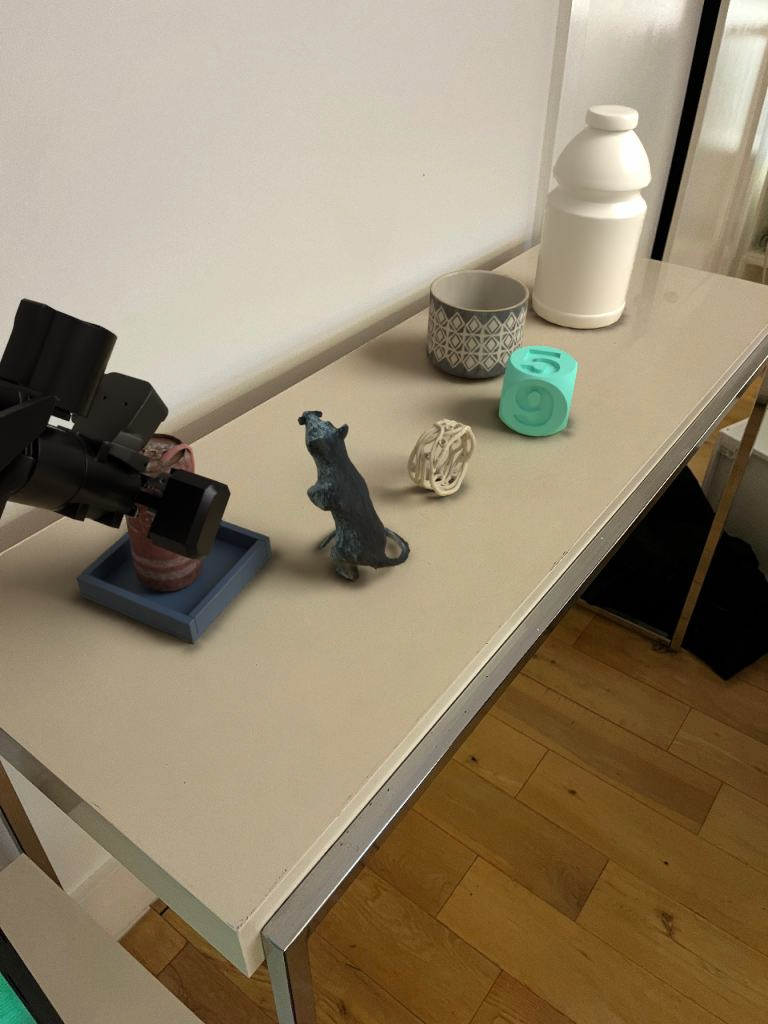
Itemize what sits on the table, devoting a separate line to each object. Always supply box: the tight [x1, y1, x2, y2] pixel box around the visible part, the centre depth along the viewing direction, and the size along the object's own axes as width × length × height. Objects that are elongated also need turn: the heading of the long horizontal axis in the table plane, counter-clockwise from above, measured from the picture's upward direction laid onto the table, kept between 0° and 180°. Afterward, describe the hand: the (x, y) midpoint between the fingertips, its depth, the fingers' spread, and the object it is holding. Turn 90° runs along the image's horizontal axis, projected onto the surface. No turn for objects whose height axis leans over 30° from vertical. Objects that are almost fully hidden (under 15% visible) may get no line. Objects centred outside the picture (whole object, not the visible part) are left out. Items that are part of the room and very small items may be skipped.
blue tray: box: [75, 519, 273, 645], centre depth 73 cm, size 13×13×2 cm
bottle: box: [531, 104, 652, 329], centre depth 110 cm, size 14×14×28 cm
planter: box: [426, 269, 530, 379], centre depth 103 cm, size 13×13×10 cm
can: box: [124, 432, 203, 593], centre depth 69 cm, size 6×6×14 cm
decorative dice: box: [498, 345, 579, 437], centre depth 93 cm, size 8×8×8 cm
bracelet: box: [407, 418, 477, 497], centre depth 83 cm, size 4×8×8 cm, turn 141°
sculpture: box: [297, 410, 411, 582], centre depth 72 cm, size 8×11×15 cm
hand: (174, 504), depth 70 cm, fingers closed on can, 5 cm apart
